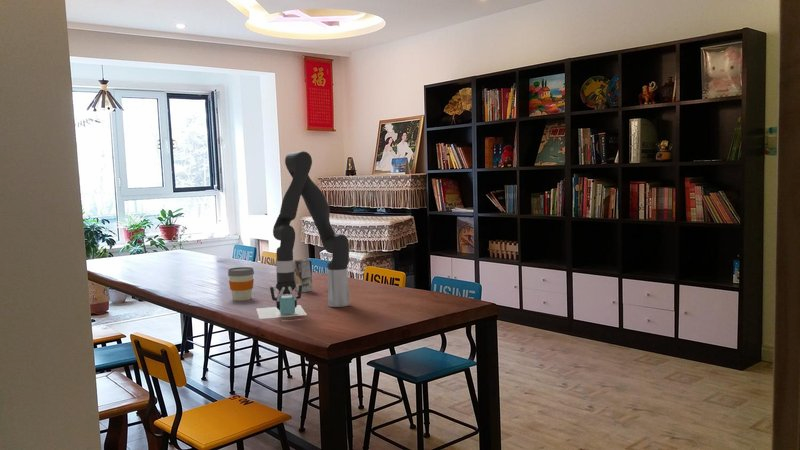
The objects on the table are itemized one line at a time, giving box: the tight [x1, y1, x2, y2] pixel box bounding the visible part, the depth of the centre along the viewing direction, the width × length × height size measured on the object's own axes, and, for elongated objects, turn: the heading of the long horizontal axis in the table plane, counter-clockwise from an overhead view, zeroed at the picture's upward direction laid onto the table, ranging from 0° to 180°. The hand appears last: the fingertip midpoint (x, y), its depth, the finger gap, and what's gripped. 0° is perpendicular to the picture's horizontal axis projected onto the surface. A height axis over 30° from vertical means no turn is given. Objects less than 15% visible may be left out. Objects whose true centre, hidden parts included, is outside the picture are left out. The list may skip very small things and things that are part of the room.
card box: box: [279, 294, 295, 314], centre depth 264 cm, size 9×6×6 cm, turn 17°
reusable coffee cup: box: [227, 266, 255, 301], centre depth 304 cm, size 12×13×15 cm
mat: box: [255, 304, 308, 320], centre depth 270 cm, size 20×22×1 cm
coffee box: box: [293, 258, 313, 293], centre depth 323 cm, size 9×6×16 cm
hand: (286, 308), depth 264 cm, fingers closed on card box, 6 cm apart
